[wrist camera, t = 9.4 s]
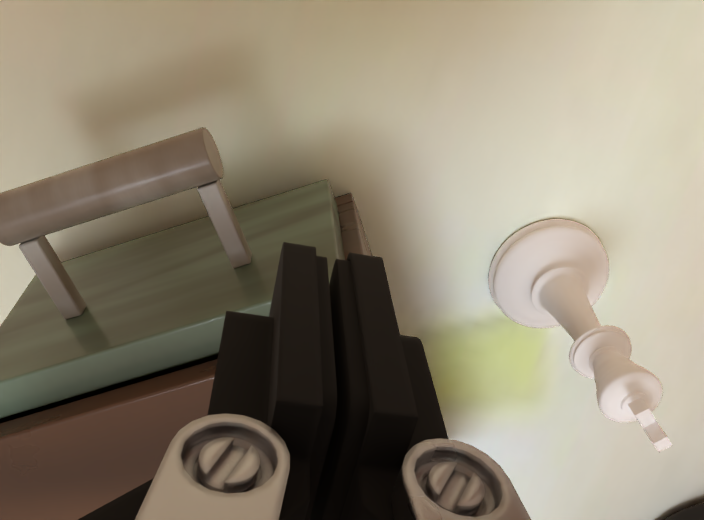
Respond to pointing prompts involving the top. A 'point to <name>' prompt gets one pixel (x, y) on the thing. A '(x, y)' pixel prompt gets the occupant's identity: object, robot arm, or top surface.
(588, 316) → the chess piece
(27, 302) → the drawer
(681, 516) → the ink bottle
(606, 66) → the top surface
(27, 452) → the cabinet
